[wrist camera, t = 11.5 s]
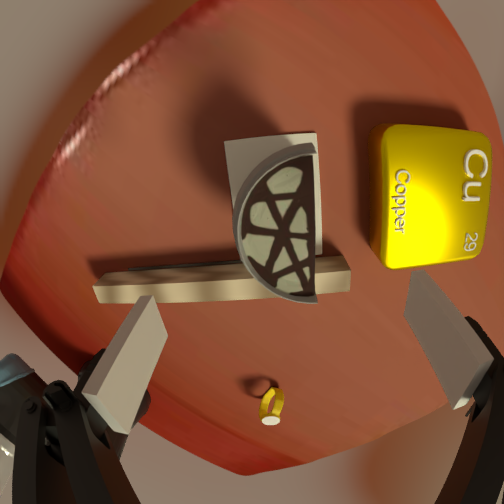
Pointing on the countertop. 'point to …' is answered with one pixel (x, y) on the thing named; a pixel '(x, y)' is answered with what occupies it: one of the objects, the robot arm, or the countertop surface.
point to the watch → (273, 416)
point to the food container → (279, 223)
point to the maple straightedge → (208, 282)
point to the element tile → (427, 194)
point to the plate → (259, 148)
